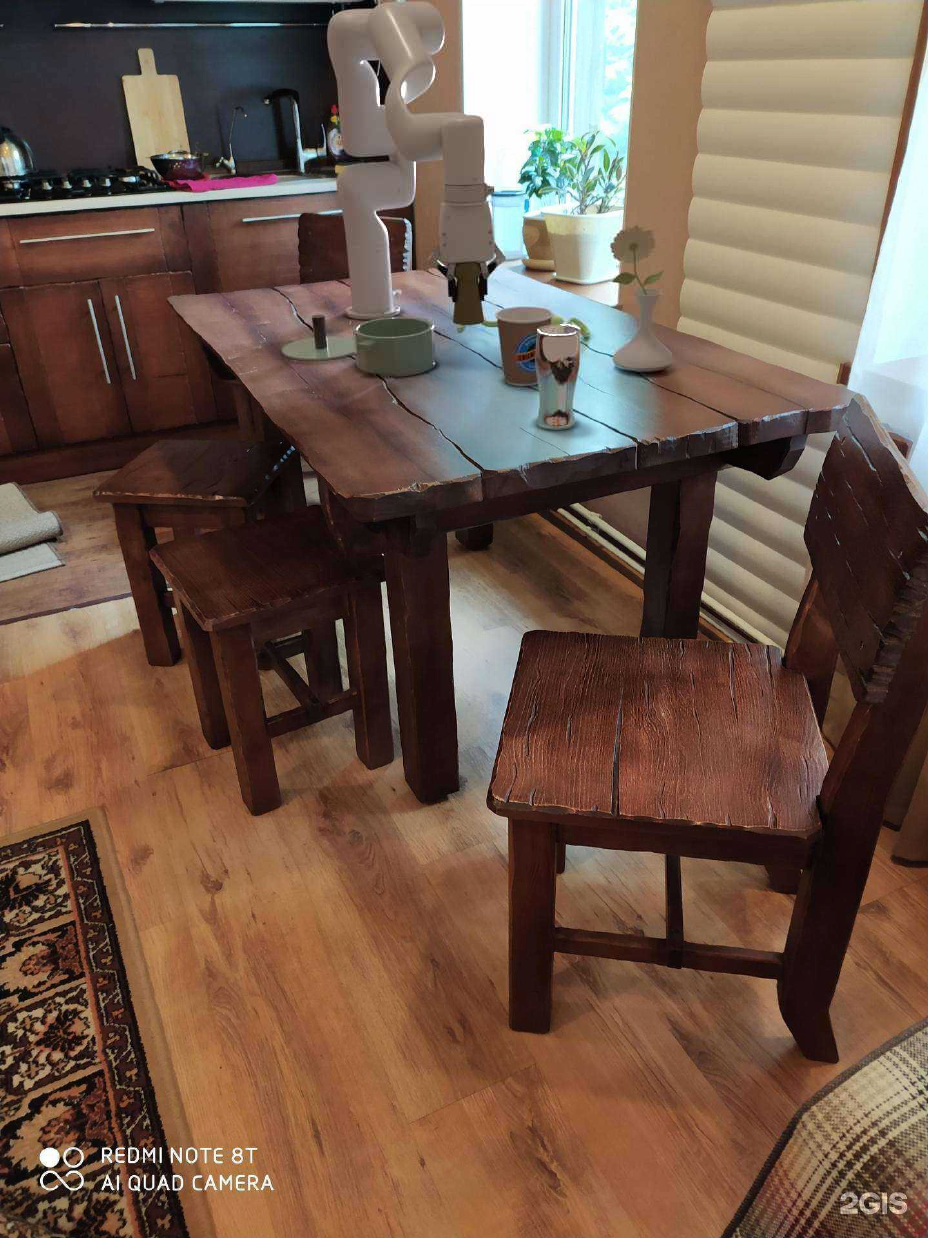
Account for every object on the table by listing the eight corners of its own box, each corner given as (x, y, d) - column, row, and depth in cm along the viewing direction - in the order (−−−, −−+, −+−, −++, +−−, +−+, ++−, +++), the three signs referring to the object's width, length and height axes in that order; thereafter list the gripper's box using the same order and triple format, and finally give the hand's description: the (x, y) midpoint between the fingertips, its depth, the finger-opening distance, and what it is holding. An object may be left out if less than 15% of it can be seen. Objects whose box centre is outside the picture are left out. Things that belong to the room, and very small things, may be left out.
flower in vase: (676, 361, 173) (690, 220, 159) (668, 379, 164) (681, 231, 150) (609, 356, 176) (617, 218, 163) (597, 374, 167) (604, 229, 154)
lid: (266, 357, 183) (260, 321, 179) (315, 338, 194) (311, 303, 190) (329, 367, 176) (325, 329, 172) (377, 346, 187) (374, 310, 183)
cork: (481, 325, 169) (479, 263, 163) (449, 324, 170) (447, 263, 164) (486, 317, 174) (485, 257, 168) (456, 316, 175) (454, 256, 169)
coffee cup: (513, 392, 160) (513, 323, 153) (485, 377, 167) (484, 311, 161) (562, 382, 163) (564, 315, 157) (533, 368, 171) (534, 303, 165)
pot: (333, 374, 172) (328, 335, 168) (393, 347, 187) (390, 311, 183) (399, 385, 165) (396, 345, 161) (456, 355, 180) (455, 318, 176)
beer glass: (531, 417, 149) (532, 324, 141) (572, 415, 149) (576, 322, 141) (537, 432, 143) (539, 336, 135) (581, 429, 143) (585, 334, 135)
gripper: (509, 189, 164) (509, 293, 174) (417, 193, 163) (422, 297, 173) (515, 195, 158) (514, 302, 167) (418, 199, 157) (424, 307, 167)
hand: (467, 298), depth 170 cm, fingers closed on cork, 4 cm apart
